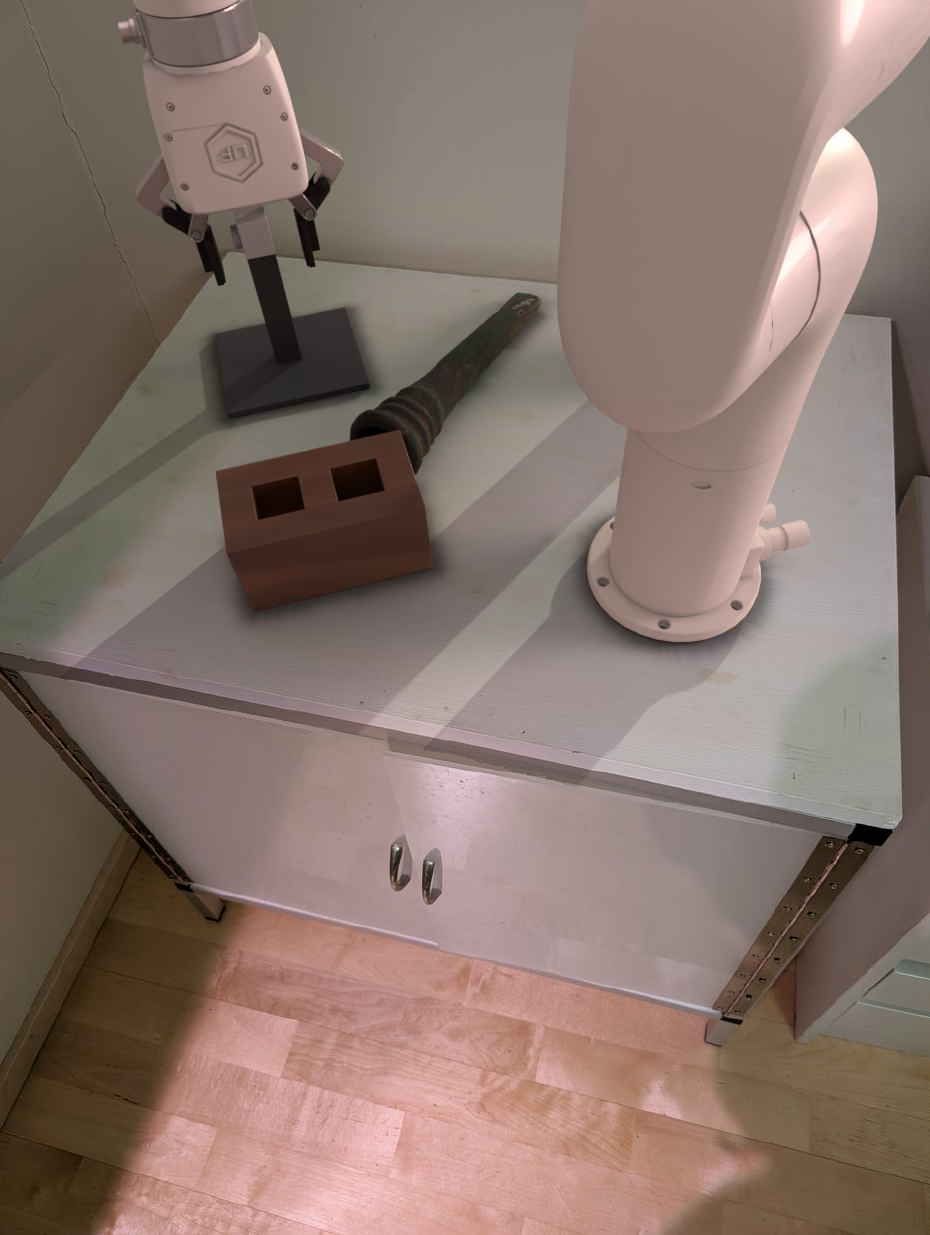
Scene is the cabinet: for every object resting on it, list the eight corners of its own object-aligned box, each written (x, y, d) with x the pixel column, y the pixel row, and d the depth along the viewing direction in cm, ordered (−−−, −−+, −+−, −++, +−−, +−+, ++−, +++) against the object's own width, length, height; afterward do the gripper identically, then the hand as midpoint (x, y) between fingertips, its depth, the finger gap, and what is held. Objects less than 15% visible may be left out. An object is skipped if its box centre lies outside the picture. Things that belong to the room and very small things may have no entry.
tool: (413, 500, 68) (405, 440, 63) (351, 470, 71) (338, 410, 65) (578, 319, 81) (583, 256, 75) (520, 298, 83) (522, 235, 78)
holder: (240, 532, 67) (215, 470, 62) (409, 493, 69) (399, 429, 63) (252, 612, 63) (226, 553, 57) (433, 568, 64) (425, 506, 58)
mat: (346, 311, 83) (345, 306, 83) (370, 387, 77) (369, 382, 76) (216, 338, 82) (214, 333, 81) (229, 418, 75) (227, 413, 75)
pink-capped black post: (297, 340, 80) (259, 191, 68) (304, 368, 78) (266, 219, 66) (266, 346, 80) (223, 198, 68) (272, 375, 77) (228, 226, 65)
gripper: (69, 73, 53) (165, 314, 68) (336, 28, 55) (373, 272, 70) (70, 27, 58) (160, 263, 72) (317, -13, 60) (356, 225, 74)
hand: (264, 266), depth 71 cm, fingers open, 7 cm apart
